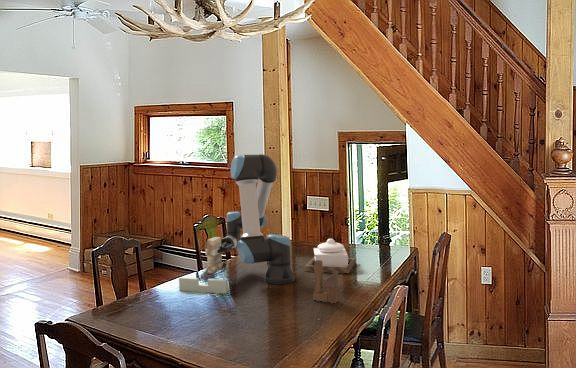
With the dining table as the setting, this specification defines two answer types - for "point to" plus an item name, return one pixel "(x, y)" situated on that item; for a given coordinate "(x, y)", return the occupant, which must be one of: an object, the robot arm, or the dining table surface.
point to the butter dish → (331, 254)
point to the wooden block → (325, 285)
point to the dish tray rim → (347, 269)
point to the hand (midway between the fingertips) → (210, 252)
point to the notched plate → (212, 260)
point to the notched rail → (194, 285)
